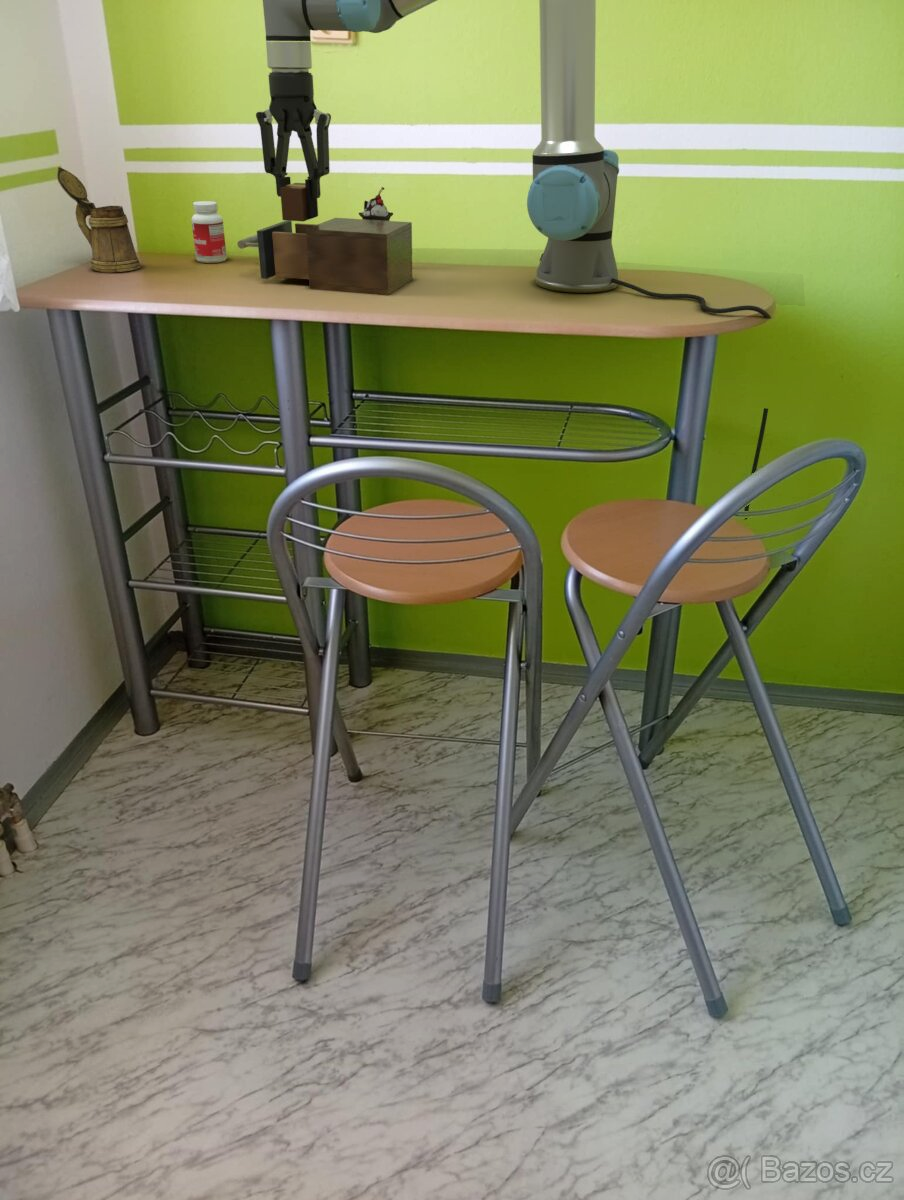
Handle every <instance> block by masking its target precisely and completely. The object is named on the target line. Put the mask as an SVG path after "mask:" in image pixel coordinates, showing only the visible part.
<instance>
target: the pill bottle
mask: <svg viewBox="0 0 904 1200" xmlns="http://www.w3.org/2000/svg"><path fill="white" fill-rule="evenodd" d="M192 206H193V211H194V212H195V213H194V214H193V215H192V217H191V228H192V237H193V245H194V253H195V260H196V261H197V262H199V263H202V264H218V263H224V262H225V261H227V257H228V255H227V245H226V237H225V228H224V219H223V216H222V215H221V214H219V213H218V210H219V206H218V202H217V201H211V200H210V201H209V200H201V201H194V202H192Z"/></svg>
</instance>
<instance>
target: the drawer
mask: <svg viewBox="0 0 904 1200" xmlns="http://www.w3.org/2000/svg"><path fill="white" fill-rule="evenodd" d="M292 222H293V221H288V220H282V221H281V222H278V223H275V224H272V225H270V226H266V227H263V228H262V229H257V230H256V234H254V235H251V236H249V237H245V238H243V239H239V240H238V241H237V243H236V244H237V247H238V248H239V249H241V250H244V249H246V248H248V247H251V248H257V249H258V260H259V271H260V279H262V280H268V279H270V278H272V277H274V276H275V277H276V278H284V279H285V278H286V279H287V278H288V279H297V280H299V279H300V280H309V271H308V255H307V240H306V229H307V228H310V227H312V226H315V225H317V224H315V223H300V222H299V223H298V222H296V223H294V229H295V232H293V224H292Z"/></svg>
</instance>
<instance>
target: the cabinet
mask: <svg viewBox="0 0 904 1200" xmlns="http://www.w3.org/2000/svg"><path fill="white" fill-rule="evenodd" d="M306 240H307V255H308V271H309V279H308V283H309V284H308V286H309V289H310V290H322V291H334V292H345V293H346V292H347V293H357V294H369V295H371V294H372V295H381V296H383V295H385V296H389V295H391V294H392V293H394V292H395V291H397V290H399V289H400V288H402V287H403V286H405V285H407V284H408V283H410V282H412V281H413V223H412V221H396V220H390V221H382V220H365V219H362V218H348V217H333V218H331V219H328V220H326V221H324V222H320V223H318V224H316V225H315V226H312V227H310V228H307V229H306Z"/></svg>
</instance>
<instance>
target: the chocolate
mask: <svg viewBox="0 0 904 1200" xmlns="http://www.w3.org/2000/svg"><path fill="white" fill-rule="evenodd" d="M280 193H281V197H280V205H281V218H282V221H292V222H303V223H304V222H306V221H308V220H310V219H308V218H307V201H306V186H305V182H294V183H291V184H290V185H286V186H284V187H280ZM316 200H317V201H318V198H317V199H316ZM318 216H319V205H318V202H317V217H318Z"/></svg>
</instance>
